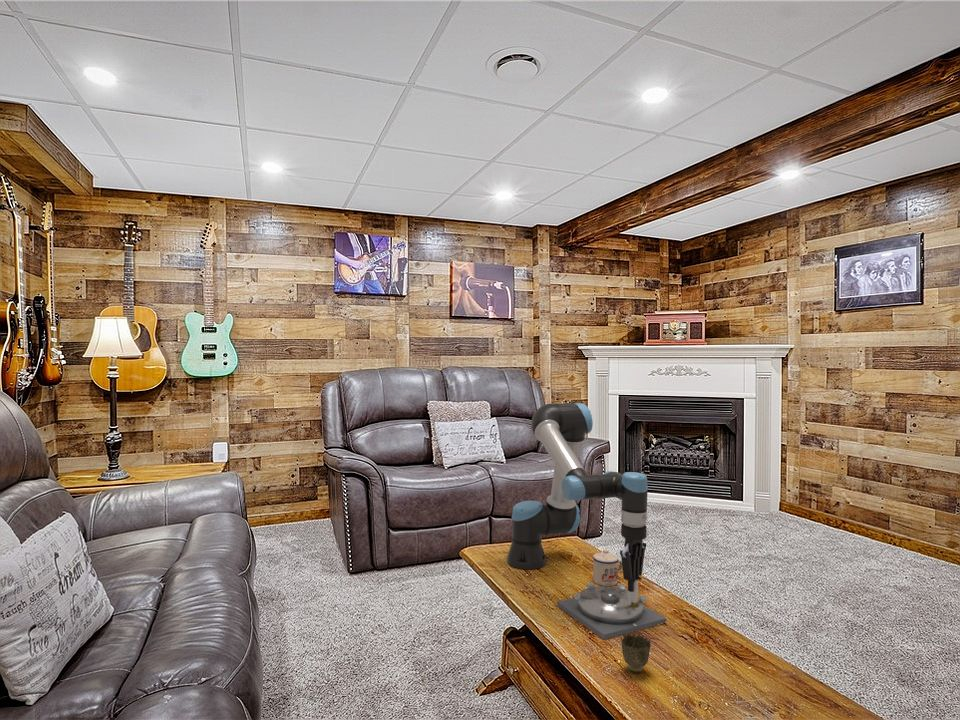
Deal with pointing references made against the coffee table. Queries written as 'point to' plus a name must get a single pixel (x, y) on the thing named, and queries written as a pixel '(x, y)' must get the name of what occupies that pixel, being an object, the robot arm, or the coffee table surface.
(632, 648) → the cup
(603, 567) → the teacup with lid
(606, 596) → the grey metal round disc
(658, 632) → the coffee table surface
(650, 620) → the plate
